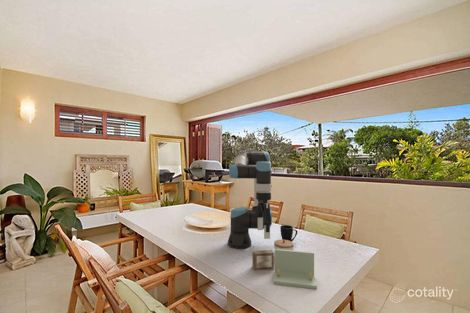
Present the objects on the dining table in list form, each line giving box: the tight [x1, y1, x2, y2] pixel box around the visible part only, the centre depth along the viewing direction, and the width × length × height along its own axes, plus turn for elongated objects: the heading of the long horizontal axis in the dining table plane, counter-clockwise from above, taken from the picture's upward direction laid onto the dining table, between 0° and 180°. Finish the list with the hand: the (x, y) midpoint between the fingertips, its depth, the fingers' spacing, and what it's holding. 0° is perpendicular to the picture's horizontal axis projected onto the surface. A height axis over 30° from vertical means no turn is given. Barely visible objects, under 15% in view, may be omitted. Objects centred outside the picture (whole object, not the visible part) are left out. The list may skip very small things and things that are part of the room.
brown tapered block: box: [252, 249, 275, 271], centre depth 115 cm, size 10×4×8 cm, turn 97°
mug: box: [279, 224, 298, 242], centre depth 152 cm, size 8×12×10 cm
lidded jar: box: [273, 239, 294, 251], centre depth 128 cm, size 11×11×9 cm
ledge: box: [273, 248, 318, 290], centre depth 103 cm, size 18×11×11 cm, turn 77°
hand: (263, 234), depth 115 cm, fingers open, 13 cm apart
